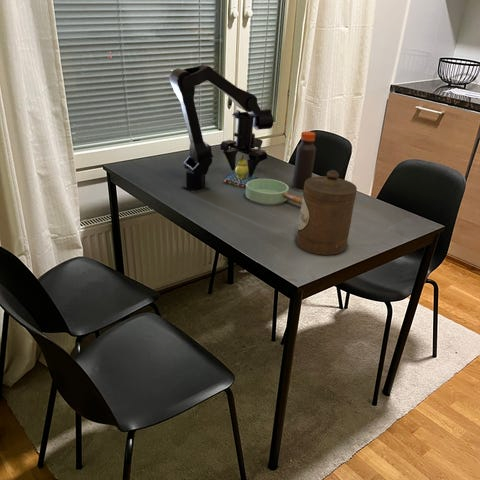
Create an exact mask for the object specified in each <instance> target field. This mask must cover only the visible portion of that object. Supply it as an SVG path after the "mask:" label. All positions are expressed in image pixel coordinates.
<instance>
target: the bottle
mask: <svg viewBox="0 0 480 480" xmlns="http://www.w3.org/2000/svg"><path fill="white" fill-rule="evenodd" d="M300 141H301V142H300V143H299V144H298V145H297V146H296V153H295V163H294V170H293V176H292V177H293V178H292V184H291V185H292V188H293V189H296V190H299V191H300V190H301V191H304V184H305V181H306V180H307V179H309V178H312V177H313V172H314V166H315V165H314V164H315V158H316V151H317V147H316V146H315V145H314V143H315V141H316V133H315V132H313V131H302V132H301V135H300Z"/></svg>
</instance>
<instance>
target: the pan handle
mask: <svg viewBox="0 0 480 480" xmlns="http://www.w3.org/2000/svg"><path fill="white" fill-rule="evenodd" d="M283 197H284V198H285V199H287V201H290V202H293V203H295V204H298V205H300V206H301V205H302V199H303V197H300V196H297V195H294V194H292V193H289V192H288V193H284V194H283Z"/></svg>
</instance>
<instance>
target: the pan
mask: <svg viewBox="0 0 480 480" xmlns="http://www.w3.org/2000/svg"><path fill="white" fill-rule="evenodd" d="M289 189H290V188H289V185H288V184H286V183H285V182H284V181H280V180H279V179H278V180H277V179H274V178H273V179H272V178H258V179H254V180H250V181H249V182H247V184H246V186H245V193H244V195H245V198H247V199H249V200H250V201H252V202H255V203H259V204H265V205H274V204H275V205H276V204H277V205H278V204H282V203H285V202H286V201H288V199H285V198H284V197H283V194H284V193H289Z"/></svg>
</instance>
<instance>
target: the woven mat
mask: <svg viewBox="0 0 480 480" xmlns="http://www.w3.org/2000/svg"><path fill="white" fill-rule="evenodd" d="M254 179H259V176H255V175H252V177H249V174H247V175H246V178H245V179H240V178H237V174H236V172H235V171H234V172H232V173H230V174H229V175H226V176H225V177H223V182H224V183H228V184H232V185H234V186H240V187H243V188H244V187H246V184H247V182H249V181H250V180H254Z"/></svg>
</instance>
